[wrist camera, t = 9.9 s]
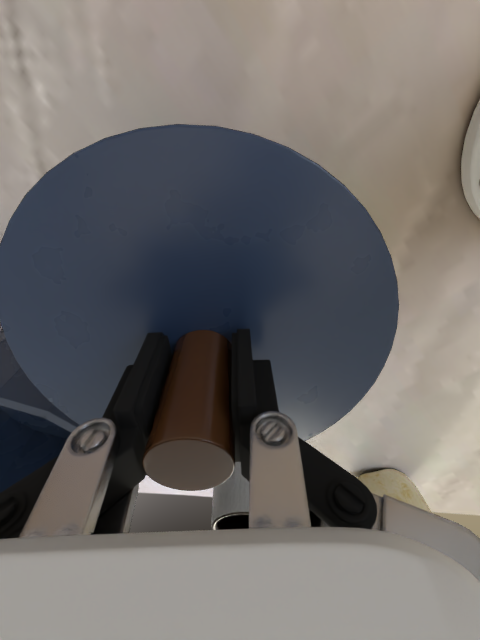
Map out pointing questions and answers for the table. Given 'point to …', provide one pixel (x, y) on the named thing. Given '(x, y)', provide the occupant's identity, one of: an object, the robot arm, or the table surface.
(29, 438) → the pot
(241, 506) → the grey tube
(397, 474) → the food model
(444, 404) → the table surface
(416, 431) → the table surface
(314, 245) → the lid
